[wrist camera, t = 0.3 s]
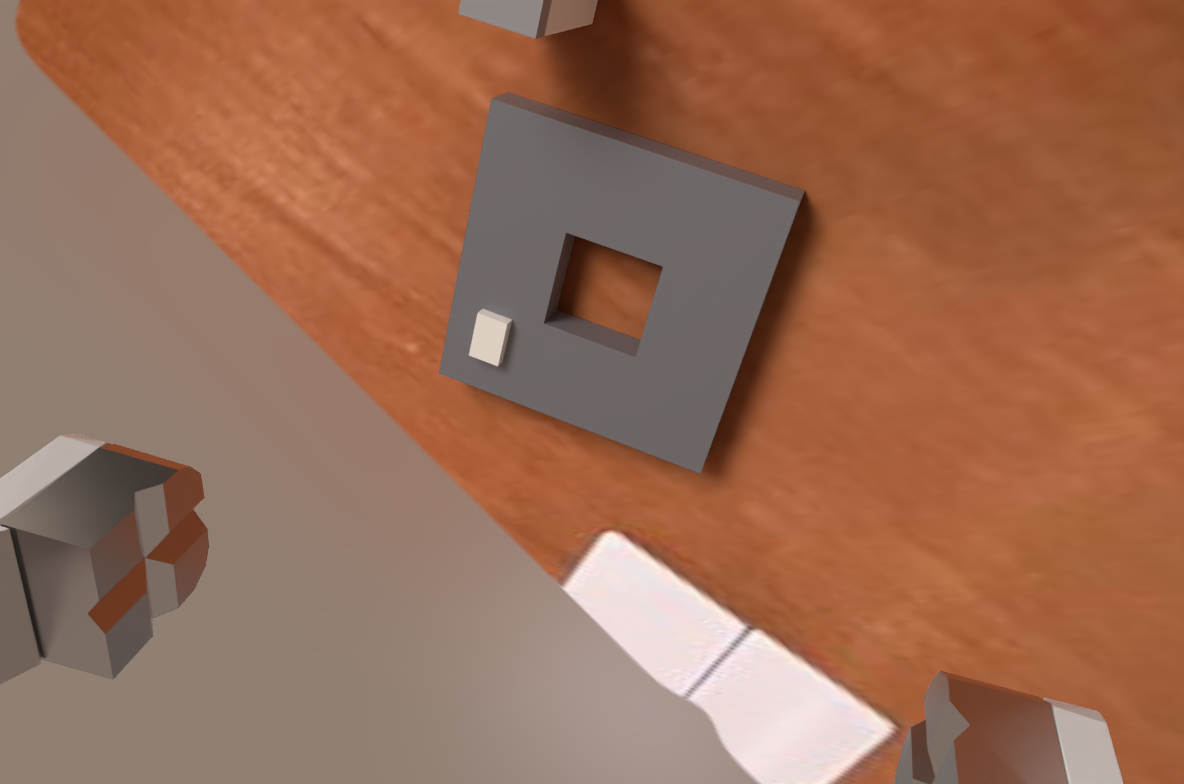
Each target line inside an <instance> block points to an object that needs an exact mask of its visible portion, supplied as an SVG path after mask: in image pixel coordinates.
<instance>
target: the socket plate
mask: <svg viewBox="0 0 1184 784" xmlns="http://www.w3.org/2000/svg"><path fill="white" fill-rule="evenodd" d="M804 192H805V191H804V190H801V189H798V188H795V187H792V186H789V185H786V184H783V183H780V182H777V181H774V180H771V179H768V178H765V177H762V176H759V175H756V174H753V173H750V172H747V171H744V170H741V169H738V168H735V167H732V166H729V165H726V164H723V163H720V162H717V161H714V160H711V159H708V158H705V157H702V156H699V155H696V154H693V153H690V152H687V151H684V150H681V149H678V148H675V147H672V146H669V145H666V144H663V143H660V142H657V141H653V140H650V139H647V138H644V137H641V136H638V135H635V134H632V133H629V132H626V131H623V130H620V129H617V128H614V127H611V126H608V125H605V124H602V123H599V122H596V121H593V120H590V119H587V118H584V117H581V116H578V115H575V114H572V113H569V112H566V111H563V110H560V109H557V108H554V107H551V106H548V105H545V104H542V103H539V102H536V101H533V100H530V99H527V98H524V97H521V96H518V95H515V94H512V93H509V92H508V93H505V94H502V95H500V96H497V97H494V98H492V99H491V103H490V108H489V113H488V119H487V124H486V129H485V134H484V140H483V145H482V150H481V155H480V161H479V166H478V171H477V177H476V182H475V187H474V192H473V198H472V203H471V208H470V213H469V219H468V224H467V229H466V234H465V240H464V245H463V250H462V255H461V261H460V266H459V271H458V276H457V282H456V287H455V292H454V297H453V303H452V308H451V313H450V318H449V324H448V329H447V334H446V339H445V345H444V350H443V355H442V360H441V366H440V371H439V374H442V375H445V376H447V377H450V378H452V379H455V380H458V381H460V382H463V383H465V384H468V385H471V386H473V387H476V388H478V389H481V390H484V391H486V392H489V393H491V394H494V395H497V396H499V397H502V398H504V399H507V400H510V401H512V402H515V403H517V404H520V405H523V406H525V407H528V408H530V409H533V410H536V411H538V412H541V413H543V414H546V415H549V416H551V417H554V418H557V419H559V420H562V421H564V422H567V423H570V424H572V425H575V426H577V427H580V428H583V429H585V430H588V431H590V432H593V433H596V434H598V435H601V436H603V437H606V438H609V439H611V440H614V441H616V442H619V443H622V444H624V445H627V446H629V447H632V448H635V449H637V450H640V451H642V452H645V453H648V454H650V455H653V456H655V457H658V458H661V459H663V460H666V461H668V462H671V463H674V464H676V465H679V466H681V467H684V468H687V469H689V470H692V471H694V472H697V473H701V471H702V469H703V466H704V464H705V461H706V459H707V456H708V454H709V451H710V448H711V446H712V443H713V440H714V438H715V435H716V432H717V429H718V427H719V424H720V421H721V418H722V416H723V413H724V410H725V408H726V405H727V402H728V399H729V397H730V394H731V391H732V388H733V386H734V383H735V380H736V378H737V375H738V372H739V369H740V367H741V364H742V361H743V358H744V356H745V353H746V350H747V348H748V345H749V342H750V339H751V337H752V334H753V331H754V328H755V326H756V323H757V320H758V318H759V315H760V312H761V309H762V307H763V304H764V301H765V298H766V296H767V293H768V290H769V288H770V285H771V282H772V279H773V277H774V274H775V271H776V268H777V266H778V263H779V260H780V258H781V255H782V252H783V249H784V247H785V244H786V241H787V238H788V236H789V233H790V230H791V228H792V225H793V222H794V219H795V217H796V214H797V211H798V208H799V206H800V203H801V200H802V198H803V195H804ZM576 236H577V237H580V238H583V239H586V240H588V241H591V242H594V243H597V244H600V245H603V246H605V247H608V248H611V249H614V250H617V251H620V252H623V253H625V254H628V255H631V256H634V257H637V258H640V259H642V260H645V261H648V262H651V263H654V264H657V265H659V266H662V267H663V268H662V272H661V275H660V278H659V281H658V285H657V288H656V291H655V295H654V298H653V301H652V305H651V308H650V311H649V314H648V318H647V321H646V324H645V328H644V331H643V334H642V338H641V340H639V339H636V338H633V337H630V336H628V335H625V334H622V333H619V332H617V331H614V330H611V329H609V328H606V327H603V326H600V325H598V324H595V323H592V322H589V321H587V320H584V319H581V318H578V317H576V316H573V315H570V314H567V313H565V312H562V311H559V310H557V308H558V304H559V300H560V296H561V292H562V288H563V284H564V280H565V276H566V273H567V269H568V265H569V261H570V257H571V253H572V249H573V245H574V241H575V237H576Z"/></svg>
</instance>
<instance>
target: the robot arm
mask: <svg viewBox="0 0 1184 784" xmlns="http://www.w3.org/2000/svg"><path fill="white" fill-rule="evenodd" d="M203 499H204V492H203V485H202V478H201V474H200V473H199V472H197V471H196V470H194V469H193V468H191V467H190V466H186V465H183V464H179V463H176V462H173V461H170V460H166V459H163V458H160V457H156V456H153V455H150V454H146V453H143V452H140V451H136V450H133V449H129V448H126V447H123V446H120V445H116V444H109V443H106V442H103V441H99V440H96V439H93V438H90V437H86V436H83V435H80V434H77V433H74V434H68V435H62V436H59V437H58V438H56V439H55V440H54V441H52V442H51V443H49V444H48V445H46V446H45V447H44V448H42V449H41V450H40V451H38V452H37V453H35V454H34V455H33V456H31V457H30V458H28V459H27V460H26V461H24V462H23V463H21V464H20V465H19V466H17V467H16V468H14V469H13V470H12V471H10V472H9V473H7V474H6V475H5V476H3V477H2V478H0V684H2V683H4V682H5V681H8V680H10V679H12V678H14V677H16V676H18V675H20V674H22V673H24V672H26V671H28V670H30V669H31V668H33V667H35V666H37V665H39V664H41V659H42V660H45V661H49V662H53V663H57V664H60V665H63V666H67V667H70V668H74V669H78V670H81V671H85V672H89V673H92V674H96V675H99V676H103V677H106V678H110V679H114V678H115V677H116V676H117V675H118V674H119V673H120V672H121V670H122V669H123V668H124V667H125V666H126V665H127V664H128V663H129V662H130V660H131V659H132V658H133V657H134V656H135V655H136V654H137V653H138V652H139V651H140V650H141V649H142V648H143V646H144V645H145V644H146V643H147V642H148V641H149V640H150V639H151V638H152V637H153V618H155V617H157V616H160V615H162V614H165V613H167V612H170V611H172V610H175V609H177V608H179V607H180V606H181V604H182V603H183V602H184V601H185V600H186V599H187V598H188V596H189V595H190V594H191V593H192V592H193V591H194V589H195V587H196V585H197V583H198V581H199V579H200V577H201V575H202V573H203V570H204V568H205V566H206V561H207V555H208V549H209V541H208V529H207V528H206V526H205V525H204V523H203V522H202V521H201V519H200V518H199V517H198V515H197V514H196V512H195V511H194V509H195V508H196V507H197V505H198V504H199V503H200V502H201V501H202V500H203ZM924 699H925V717H926V720H925V721H923V722H920V723H918V724H916V725H914V726H912V727H911V728H910V730H909V733H908V735H907V738H906V740H905V743H904V745H903V748H902V750H901V754H900V758H899V763H898V767H897V771H896V776H895V784H1124V782H1123V778H1122V775H1121V771H1120V768H1119V764H1118V761H1117V757H1116V754H1115V750H1114V747H1113V743H1112V740H1111V736H1110V733H1109V729H1108V726H1107V722H1106V720H1105V719H1104V717H1103V716H1102V715H1101V714H1100V713H1099V711H1096V710H1092V709H1088V708H1084V707H1080V706H1076V705H1072V704H1068V703H1064V702H1060V701H1056V700H1053V699H1049V698H1043V699H1042V698H1040V697H1038V696H1034V695H1030V694H1027V693H1023V692H1019V691H1015V690H1012V689H1008V688H1004V687H1000V686H996V685H993V684H989V683H985V682H981V681H978V680H974V679H970V678H966V677H962V676H959V675H955V674H951V673H947V672H943V671H940V672H939V673H938V674H937V675H936V676H935V677H934V678H933V680H932V682H931V684H930V686H929V688H928V690H927V692H926V695H925V697H924Z"/></svg>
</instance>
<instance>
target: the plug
mask: <svg viewBox="0 0 1184 784" xmlns="http://www.w3.org/2000/svg"><path fill="white" fill-rule="evenodd" d="M597 2H598V0H461V2H460V8H459V14H460V15H464V16H467V17H470V18H473V19H476V20H479V21H482V22H485V23H489V24H492V25H495V26H498V27H501V28H504V29H507V30H510V31H514V32H517V33H520V34H523V35H526V36H529V37H532V38H535V39H536V38H540V37H544V36H547V35H551V34H555V33H559V32H563V31H567V30H571V29H574V28H578V27H582V26H586V25H590V24H593V19H594V15H595V11H596V6H597Z"/></svg>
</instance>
